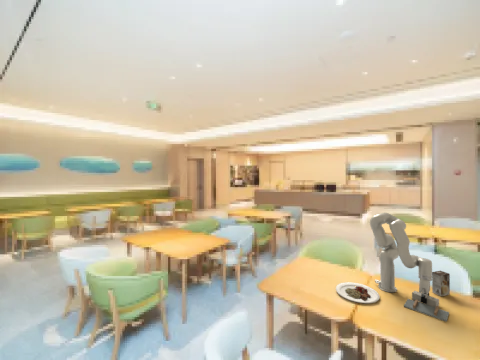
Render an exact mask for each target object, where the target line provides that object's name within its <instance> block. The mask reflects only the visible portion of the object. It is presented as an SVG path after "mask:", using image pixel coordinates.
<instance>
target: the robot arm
mask: <svg viewBox="0 0 480 360" xmlns="http://www.w3.org/2000/svg"><path fill="white" fill-rule="evenodd" d="M385 224H386V225H388V227H389V230H390V232H391V234H392V235H391V234H388V233H387V232H386V231H385V229H384V226H382V225H385ZM369 225H370V229H371V230H372V233H373V237H374V239H375V242H376V244H377V246H378V247H379V248H383V249H382V250H381V251H380V252H379V254H378V255H379V256H378V257H379V262H380V263H379V264H380V266H379V267H380V274H379V275H380V279H379V280H378V279H374V282H375V284H378V286H377V287H378V288H379V289H380V290H381V291H384V292H386V293H396V292H398V288H397V287H396V286H395V285H396V283H395V282H396V281H395V278H396V277H395V272H396V269H395V264H394V263H395V262H394V261H395V260H396V259H398V258H400V262H401V263H402V264H403V266H404V267H405V268H407V269H414V268H418V269H417V270H418V271H417V272H418V273H417V274H418V276H417V277H418V279H419V285H418V286H419V289H418V292H420V293H421V302H422V303H425V304H427V298H426V296H427V295H429V296H430V291H431V282H432V272H433V263H432V260H430V259H428V258H423V257H421V256H418V255H414V254H411V253H410V248H409V247H410V242H411V241H410V239H409V236H408V234H407V233H406V231H405V230H406V228H407V224H406V221H404V220H402V219H401V218H398V217H396V216H395V215H393V214H390V213H388V212H382V213H378V214H375V215H373V216H372V217H371V219H370V220H369ZM424 294H425V295H424ZM421 302H420V303H421Z"/></svg>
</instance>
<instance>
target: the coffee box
mask: <svg viewBox="0 0 480 360" xmlns="http://www.w3.org/2000/svg"><path fill="white" fill-rule="evenodd" d="M450 276H451V275H450V273H449V272H445V271H442V270H436V271H432V281H431V282H432V283H431V284H432V285H431V286H432V287H431V288H432V290H431V292H432V293H433V294H435V295H437V296H439V297H444V296H449V295H450V294H451V292H450V291H451V289H450V288H451V283H450V278H451V277H450Z"/></svg>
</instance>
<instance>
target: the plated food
mask: <svg viewBox="0 0 480 360" xmlns="http://www.w3.org/2000/svg"><path fill="white" fill-rule="evenodd" d="M355 286H356V287H355ZM335 291H336V292H337V294H338V295H339V296H341V297H342V298H344V299H346V300H349V301H351V302H355V303H359V304H372V303H377V302H378V301H379V300H380V297H381V296H380V294H379V293H378V291H376V290H375V289H373V287H370V286H368V285H366V284H363V283H359V282H351V281H349V282H348V281H347V282H340V283H338V284H337V285H336V286H335Z"/></svg>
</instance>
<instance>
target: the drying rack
mask: <svg viewBox="0 0 480 360" xmlns="http://www.w3.org/2000/svg"><path fill="white" fill-rule="evenodd" d="M403 307H404V308H406V309H409V310H410V311H414V312H418V313H420V314H423V315H426V316H429V317H432V318H434V319H437V320H440V321H443V322H446V323H447V322H448V318H449V315H450V312H449V311H447V310H444V309H441V308H440V305H439V306H436V308H435V307H432V306H429V305H426V304H423V303H421V302H418V300H417V299H416V300H413V299H410V298H407V300H406V301H405V303H404V304H403Z"/></svg>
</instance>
